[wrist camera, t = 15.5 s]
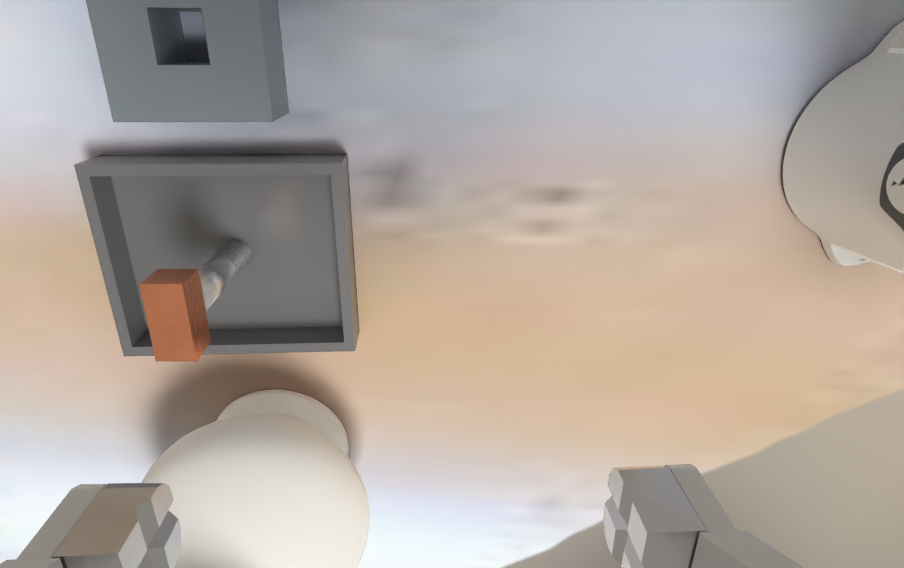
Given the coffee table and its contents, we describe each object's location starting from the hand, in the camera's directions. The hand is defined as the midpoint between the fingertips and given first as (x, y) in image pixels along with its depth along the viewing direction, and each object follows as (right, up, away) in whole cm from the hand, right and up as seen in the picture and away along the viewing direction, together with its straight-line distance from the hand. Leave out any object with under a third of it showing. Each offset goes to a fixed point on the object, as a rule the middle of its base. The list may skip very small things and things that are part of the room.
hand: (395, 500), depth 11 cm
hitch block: (-16, +21, +28) cm, 39 cm away
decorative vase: (-15, -11, +42) cm, 46 cm away
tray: (-16, +7, +34) cm, 38 cm away
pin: (-16, +6, +34) cm, 38 cm away
